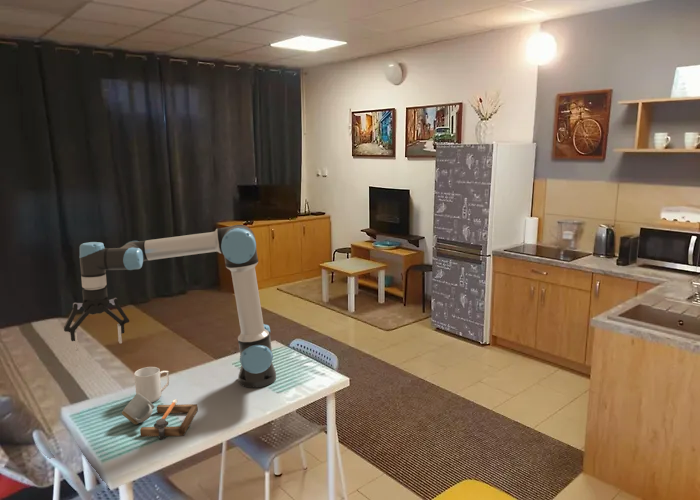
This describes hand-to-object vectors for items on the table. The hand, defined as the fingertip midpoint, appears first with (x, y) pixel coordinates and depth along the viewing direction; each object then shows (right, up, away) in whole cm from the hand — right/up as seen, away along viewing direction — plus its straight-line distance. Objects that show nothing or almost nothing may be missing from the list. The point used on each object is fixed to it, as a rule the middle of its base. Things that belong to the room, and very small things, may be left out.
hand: (99, 345), depth 171 cm
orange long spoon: (+27, -21, -7) cm, 35 cm away
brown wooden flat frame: (+26, -26, -3) cm, 37 cm away
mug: (+13, -23, +15) cm, 30 cm away
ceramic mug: (+16, -26, -4) cm, 31 cm away
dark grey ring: (+27, -28, -13) cm, 41 cm away
